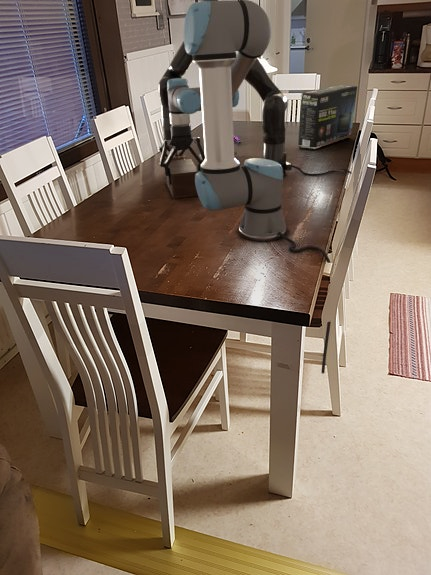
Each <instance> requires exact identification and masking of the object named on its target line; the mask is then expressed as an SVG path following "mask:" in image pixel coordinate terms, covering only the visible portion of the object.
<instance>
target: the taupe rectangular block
mask: <svg viewBox="0 0 431 575" xmlns="http://www.w3.org/2000/svg"><path fill="white" fill-rule="evenodd" d="M165 162H166V161H165ZM169 167H170V174H171V185H169V182H168V176H165V179H166V185H167V188H168V190H169V191H170V192H169V193H170V195H171V196H172V199H180V198H181V199H182V198H191V197H197V196H198V193H197V189H196V184H195V175H196V173H198V172H199V170H198V169H197V165H196V164H195V163H194V161H193V160H192V159H191V158H188V159H187V158H186V160H176V161H171V162H170V164H169ZM198 197H199V196H198Z"/></svg>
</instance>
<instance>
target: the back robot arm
mask: <svg viewBox="0 0 431 575" xmlns="http://www.w3.org/2000/svg"><path fill="white" fill-rule="evenodd" d="M203 1H219V0H202V1H201V2H203ZM192 64H193V56H192V55H190V54H188V53H187V52H186V50H185V45H184V40H183V41H182V43H181V45H180V46H179V48H178V50H177V51H176V52H175V54H174V56H173V58H172V59H171V61H170V64H169V66H168V68H167V69H166V70H165V72H164V74H163V75H162V77H161V78H160V80H159V82H158V94H159V100H160V112H161V127H162V129H161V130H162V138H163V140H164V139H165V140H171V125H172V124H170V112H169V101H168V91H167V82H168V80H170V79H175V78H183V77H184V76H185V74H186V73H187V72H188V70H189V69H190V67H191V65H192ZM243 81H245V82H246V83H248V85H250V86H251V87H252V88H253V89H254V90H255V91H256V93H257V94H258V95H259V97H260V99H261V101H262V107H261V108H262V110H261V111H262V112H261V116H262V117H261V118H262V119H261V122H262V123H261V124H262V125H261V126H262V127H261V128H262V159H267V160H272V161H275V162H277V163H279V164H280V165H281V166H282V169H283V176H286V175H287V174H286V173H287V171H292V169H293V168H294V169H296V170H298V171H299V172H300V173H301V174H302V175H305V176H310V177H311V176H313V177H317V176H325V175H327V174H331V173H338V172H340V171H335V170H336V169H333V170H328V171H325V172H319V173H318V172H317V173H308V172H305V171H303V170H302V169H301V167H298V166H296V165H293V163H291V162H288V161H287V152H285V150H286V111H287V109H288V100H287V97H286V96H285V94H284V93H283V92H282V91H281V89H279V87H278V86H277V85H276V84H275V83H274V81H273V80H272V79H271V77H270V76H269V74H268V73H267V70H266V68H265V67H264V66H263V64H262V62H261V61H260V59H259V58H257V59H256V60H255V62H254V63H253V65H252V67H251V68H250V70H249V72H248V74H247V75H246V77H245V79H244V80H243ZM163 147H164V144H163V143H162V145H161V146H158V150H159V152H160V153H161V154H162V151H163ZM172 148H173V145H172V144H171V143H170V144H169V146H168V148H167V152H168V153H169V154H170V152H171V150H172ZM185 152H186V150H181V151H179V150H177V152H176V153H175V155H174V157H180V156H184V154H185ZM168 153H166V156H165V158H168V156H169V154H168ZM339 169H340V170H344V171H343V172H347V173H348V174H350V175H351V174H353V172H351V171H350V170H349V169H346V168H339Z"/></svg>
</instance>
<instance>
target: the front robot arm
mask: <svg viewBox="0 0 431 575" xmlns="http://www.w3.org/2000/svg"><path fill="white" fill-rule="evenodd" d="M202 1H203V0H202ZM202 1H196V2H192V3H191V4H190V5H189V7H188V9H187V11H186V15H185V17H184V24H183V41H184V45H185V50H186V52H187V53H188V54H190V55H192V56H193V62H192V64H194V65H195V66H197V68H198V72H199V87H190V85H189V82H188V79H187V78H185V77H184V78H183V77H182V78H175V79H170V80H168V82H167V91H168V101H169V112H170V124H172V125H171V140H165V139H164V140H163V141H162V145H163V144H164V147H163V151H162V153H161V155H160V159H159V163H158V164H159V166H160V167H161V168H164V175H166V176H168V182H169V185H171V174H170V167H169V164H170V162H171V160H172V159H173V157H174V155H175V153H176V152H177V150H178V152H180V151H181V150H185V151H187V150H189V152H190V153H191V154H192V156H193V157H194V158H195V160H196V161H197V163H196V167H197V169H198V170H199V172H198V173H196V175H195V184H196V189H197V193H198V198H199V201H200V204H201V205H202V207H203V208H204V209H206V210H207V211H222V210H226V209H231V208H238V207H244V211H243V213H242V216H241V220H240V221H239V223H238V232H239V235H240V236H241V237H242V238H244V239H247V240H250V241H254V242H271V241H277V240H279V239H281V238H283V239H284V240H285V241H287V242H288V243H290V244H291V246H290V247H289V249H288V250H289V251H290V252H291V253H300V252H303V251H306V250H313V251H314V250H315V251H319V252H320V253H321V254H322V255H323V258H324V259H325V261H326V263H328V264H331V259H330V258H329V255H328V254H327V253H326V251H325V250H324V249H323V248H321V247H319V246H317V245H305V246H302V247H300V248H296V246H297V243H296V242H295V241H294V240H293V239H291V238H290V237H288V236H286V234H287V223H286V221H285V216H284V214H283V210H282V200H283V183H284V175H283V169H282V166H281V165H280V164H279V163H277V162H275V161H272V160H267V159H263V158H259V157H258V158H257V157H256V158H255V157H253V158H248V159H245V160H244V163H243V165H242V166H241V162H240V161H239V160H238V159H237V158H236V156H234V148H235V139H234V135H235V133H234V113H233V108H236V107H237V105H238V104H239V100H240V90H239V89H240V88H241V85H242V84H243V82H244V81H245V80H244V79H245V77H246V75H247V74H248V72H249V70H250V68H251V67H252V65H253V63H254V62H255V60H256V59H257V58H258V59H259V58H261V57H262V56H263V55H264V54H265V52H266V50H267V49H268V47H269V44H270V42H271V37H272V28H271V27H272V26H271V21H270V19H269V16H268V14H267V13H266V11H265V10H264V9H263V7H262V6H261V5H260V4H258V3H256V2H254V1H252V0H218V1H203V2H202ZM197 112H201V119H202V131H203V132H202V134H203V147H204V149H203V147H202V145H201V138H200V137H199V136H196V137H193V136H192V125H191V115H193V114H195V113H197ZM170 143H171V144H172V145H173V148H172V150H171V152H170V154H168V153H167V152H168V150H167V148H168V146H169V144H170ZM193 143H194V144H196V147H197V150H198V152H199V155H200V154H201V157H202V160H201V158H200V156H199V155H198V154H197V153H196V152H195V150H194V149H193V147H192V146H191V145H192V144H193ZM204 152H205V154H204ZM166 153H167V154H168V155H169V156H168V158H167V160H166V162H165V163H164V160H165V158H166V157H165V156H166ZM166 176H165V177H166ZM330 330H331V320H330V321H327V323H326V331H325V337H324V345H323V354H322V362H321V363H322V364H321V374H325V372H326V371H325V370H326V360H327V352H328V346H329V338H330V332H331V331H330Z"/></svg>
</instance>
